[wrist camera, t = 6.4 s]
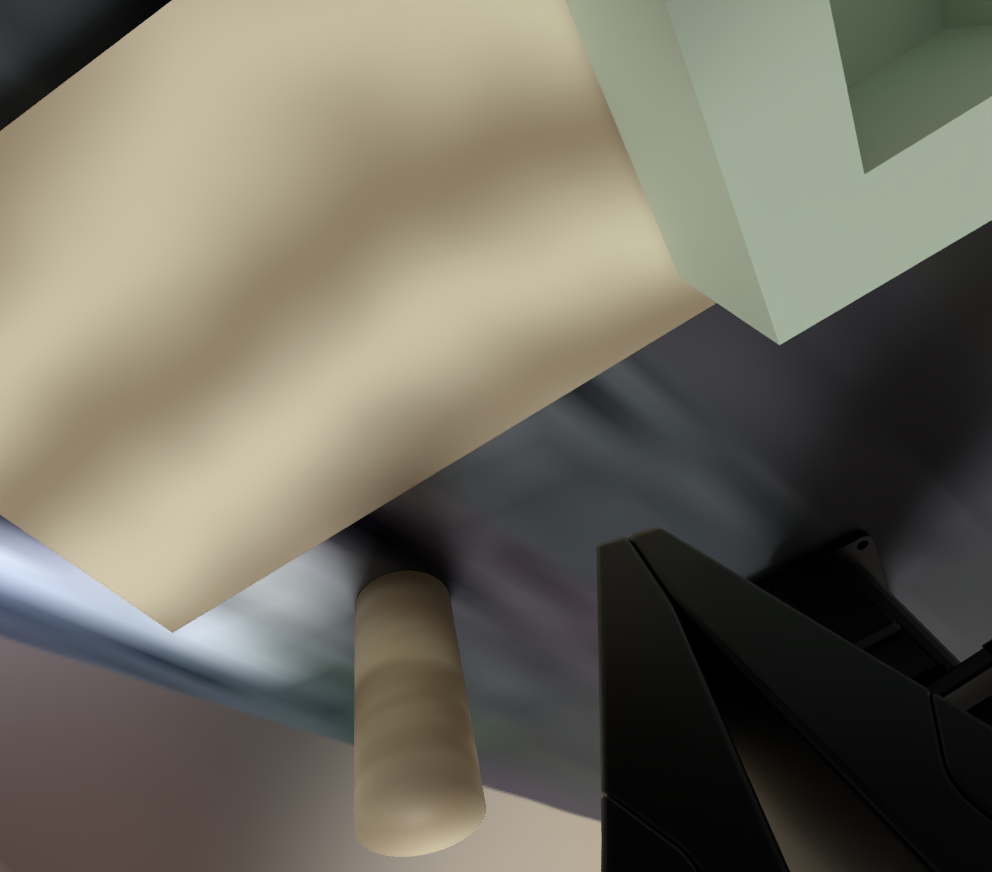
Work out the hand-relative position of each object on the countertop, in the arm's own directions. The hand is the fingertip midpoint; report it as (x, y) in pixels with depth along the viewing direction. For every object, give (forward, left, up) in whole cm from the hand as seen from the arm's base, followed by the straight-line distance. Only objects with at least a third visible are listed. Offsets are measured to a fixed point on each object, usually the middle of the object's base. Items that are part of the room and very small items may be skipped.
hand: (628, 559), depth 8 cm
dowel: (-9, +9, -12) cm, 17 cm away
